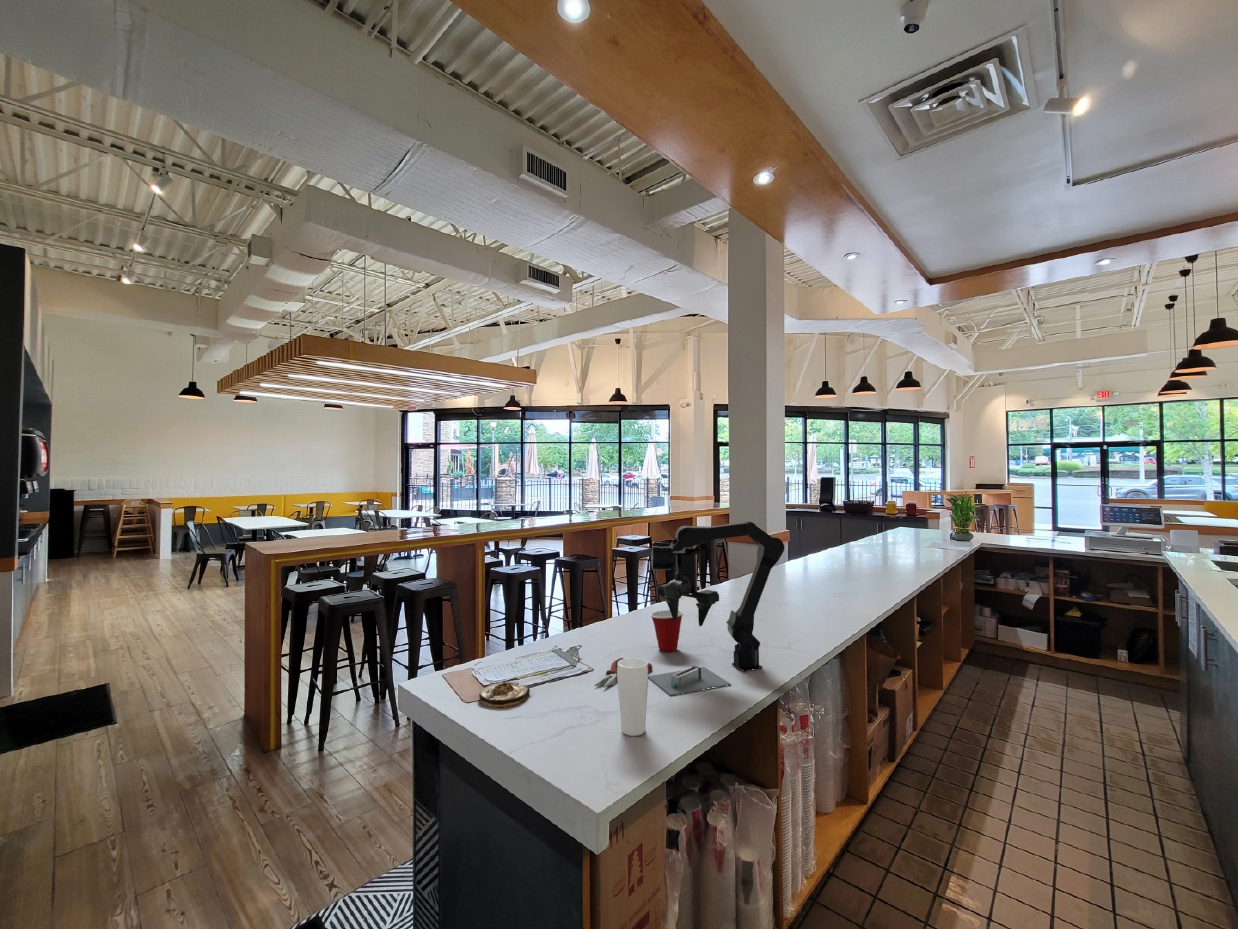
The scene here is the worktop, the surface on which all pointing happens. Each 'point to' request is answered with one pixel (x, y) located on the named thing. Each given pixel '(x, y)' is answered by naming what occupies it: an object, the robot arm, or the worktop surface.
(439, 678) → the worktop surface
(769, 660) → the worktop surface
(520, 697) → the pie
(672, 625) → the plastic cup
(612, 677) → the pliers
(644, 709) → the white tumbler
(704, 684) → the mat
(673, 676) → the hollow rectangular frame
